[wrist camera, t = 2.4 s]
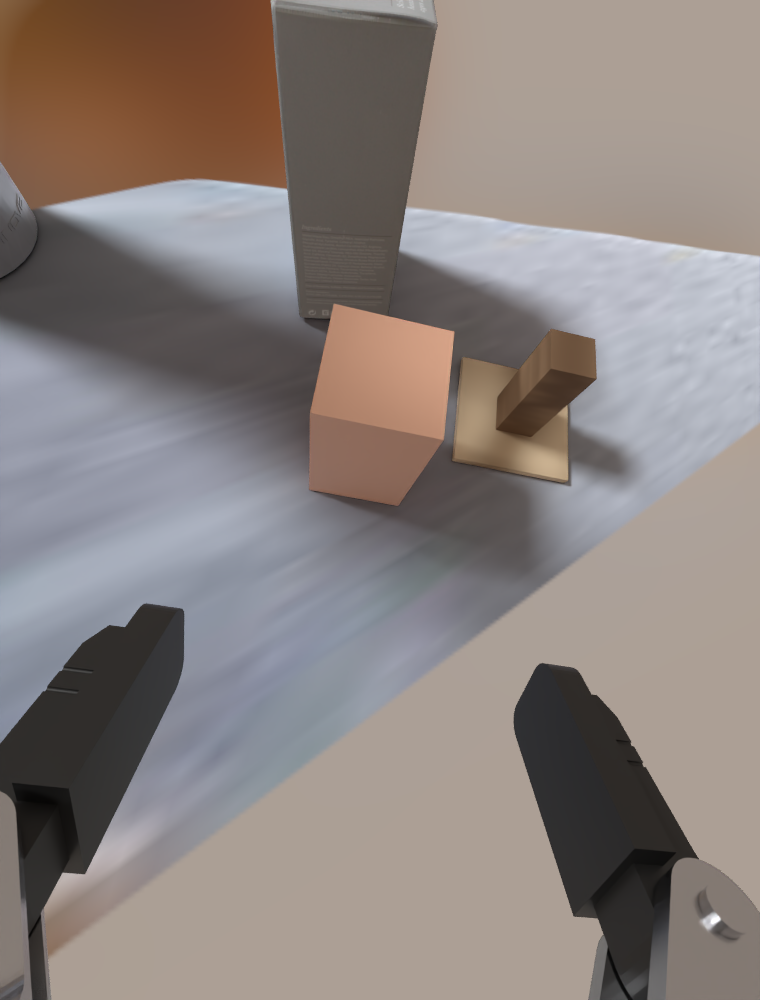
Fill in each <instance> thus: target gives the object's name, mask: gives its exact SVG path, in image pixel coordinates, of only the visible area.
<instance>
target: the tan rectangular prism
mask: <svg viewBox="0 0 760 1000" xmlns="http://www.w3.org/2000/svg"><path fill="white" fill-rule="evenodd" d="M453 340H454V331H449V330H445V329H441V328H436V327H432V326H428V325H424V324H419V323H415V322H411V321H406V320H402V319H398V318H393V317H389V316H385V315H381V314H376V313H372V312H368V311H363V310H359V309H355V308H350V307H346V306H342V305H338V304H334V305H333V310H332V314H331V319H330V324H329V328H328V333H327V337H326V342H325V346H324V351H323V356H322V360H321V365H320V369H319V374H318V378H317V383H316V388H315V392H314V397H313V401H312V406H311V410H310V460H309V490H313V491H319V492H324V493H329V494H335V495H340V496H346V497H351V498H357V499H362V500H368V501H373V502H379V503H384V504H389V505H395V506H399V504H400V503H401V501H402V500H403V498H404V497H405V495H406V494H407V492H408V491H409V490H410V488H411V487H412V485H413V484H414V482H415V481H416V479H417V478H418V477H419V475H420V474H421V472H422V471H423V469H424V468H425V466H426V465H427V464H428V462H429V461H430V459H431V458H432V456H433V455H434V453H435V452H436V451H437V449H438V448H439V446H440V445H441V443H442V442H443V440H444V432H445V422H446V412H447V402H448V391H449V381H450V371H451V361H452V351H453Z"/></svg>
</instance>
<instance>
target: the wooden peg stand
mask: <svg viewBox="0 0 760 1000" xmlns="http://www.w3.org/2000/svg"><path fill="white" fill-rule="evenodd" d="M595 380H596V351H595V339H592V338H588V337H583V336H579V335H575V334H571V333H567V332H563V331H558V330H554V329H551V330H550V331H549V332H548V333H547V335H546V336H545V337H544V338H543V340H542V341H541V342H540V344H539V345H538V346H537V347H536V349H535V350H534V351H533V352H532V354H531V355H530V356H529V357H528V359H527V360H526V361H525V363H524V364H523V365H522V366H521V368H520V369H515V368H511V367H506V366H502V365H497V364H493V363H488V362H484V361H480V360H475V359H471V358H466V357H463V358H462V360H461V365H460V376H459V388H458V399H457V410H456V421H455V432H454V444H453V455H452V461H455V462H460V463H465V464H470V465H475V466H480V467H485V468H490V469H495V470H501V471H506V472H511V473H516V474H521V475H526V476H531V477H536V478H541V479H546V480H551V481H556V482H561V483H565V482H567V481H568V404H569V403H570V402H571V401H572V400H574V399H575V398H576V397H577V396H578V395H579V394H580V393H581V392H582V391H584V390H585V389H586V388H587V387H588V386H589V385H590V384H591V383H593V382H594V381H595Z"/></svg>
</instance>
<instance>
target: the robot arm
mask: <svg viewBox="0 0 760 1000" xmlns="http://www.w3.org/2000/svg"><path fill="white" fill-rule="evenodd" d="M37 230H38V226H37V223H36V219H35V216H34V214H33V212H32V211H31V209H30V207H29V206H28V204H27V203H26V201H25V199H24V198H23V196H22V195H21V193H20V192H19V190H18V189H17V187H16V185H15V184H14V182H13V181H12V179H11V178H10V176H9V175H8V173H7V172H6V170H5V168H4V167H3V165H2V164H1V162H0V278H1V277H3V276H5V275H7V274H8V273H10V272H12V271H13V270H15V269H16V268H17V267H18V266H19V265H20V264H21V263H23V262H24V261H25V260H26V258H27V257H28V255H29V254H30V253H31V251H32V250H33V248H34V245H35V242H36V240H37ZM183 661H184V611H183V609H180V608H174V607H167V606H160V605H153V604H143V605H142V606H141V607H140V608H139V609H138V610H137V612H136V613H135V615H134V616H133V617H132V619H131V620H130V621H129V623H128V624H127V625H126V627H119V626H111V625H109V626H107V627H106V628H104V629H103V630H101V631H100V632H98V633H97V634H95V635H94V636H92V637H91V638H89V639H88V640H86V641H85V642H83V643H82V644H81V646H80V647H79V648H78V649H77V651H76V652H75V653H74V654H73V655H72V657H71V658H70V659H69V660H68V662H67V663H66V664H65V665H64V668H63V670H62V671H59V673H58V674H57V675H56V676H55V677H54V679H53V680H52V681H51V682H50V684H49V685H48V686H47V690H46V691H43V692H42V693H41V695H40V696H39V697H38V698H37V699H36V701H35V702H34V703H33V704H32V706H31V707H30V708H29V709H28V710H27V712H26V713H25V714H24V715H23V717H22V718H21V719H20V720H19V721H18V723H17V724H16V725H15V726H14V728H13V729H12V730H11V731H10V732H9V734H8V735H7V736H6V737H5V739H4V740H3V741H2V742H1V743H0V1000H51V990H50V977H49V966H48V954H47V942H46V930H45V918H44V906H45V904H46V903H47V901H48V899H49V897H50V895H51V893H52V891H53V889H54V887H55V886H56V884H57V882H58V880H59V878H60V876H61V874H62V872H64V873H76V874H85V873H86V871H87V869H88V867H89V865H90V863H91V861H92V859H93V857H94V855H95V853H96V851H97V849H98V847H99V845H100V843H101V841H102V839H103V837H104V834H105V832H106V830H107V828H108V826H109V824H110V822H111V820H112V818H113V816H114V814H115V812H116V810H117V808H118V806H119V804H120V802H121V800H122V798H123V796H124V794H125V792H126V790H127V788H128V786H129V784H130V782H131V779H132V777H133V775H134V773H135V771H136V769H137V767H138V765H139V763H140V761H141V759H142V757H143V755H144V753H145V751H146V749H147V747H148V745H149V743H150V741H151V739H152V737H153V735H154V733H155V731H156V729H157V727H158V724H159V722H160V720H161V718H162V716H163V714H164V712H165V710H166V708H167V706H168V704H169V702H170V700H171V698H172V696H173V694H174V692H175V690H176V687H177V685H178V682H179V679H180V676H181V672H182V668H183ZM514 730H515V735H516V738H517V741H518V744H519V747H520V751H521V754H522V757H523V760H524V763H525V766H526V769H527V772H528V776H529V779H530V782H531V785H532V788H533V791H534V794H535V798H536V801H537V804H538V807H539V810H540V813H541V816H542V819H543V822H544V826H545V828H546V832H547V835H548V838H549V841H550V844H551V847H552V850H553V853H554V857H555V859H556V863H557V866H558V869H559V872H560V875H561V878H562V882H563V885H564V888H565V891H566V894H567V897H568V900H569V903H570V906H571V909H572V913H573V916H575V917H588V918H598V920H599V923H600V925H601V928H602V931H603V934H604V935H603V936H602V937H601V939H600V940H599V943H598V947H597V952H596V958H595V964H594V970H593V975H592V981H591V988H590V994H589V999H588V1000H760V913H759V911H758V910H757V908H756V907H755V905H754V904H753V903H752V901H751V900H750V899H749V898H748V897H747V895H746V894H745V893H744V892H743V891H742V890H741V889H740V888H739V887H738V886H737V885H736V884H735V883H734V882H733V881H732V880H731V879H730V878H729V877H728V876H726V875H725V874H724V873H722V872H721V871H720V870H718V869H717V868H715V867H713V866H712V865H710V864H708V863H706V862H704V861H701V860H699V858H698V857H697V855H696V854H695V852H694V851H693V849H692V847H691V846H690V844H689V842H688V840H687V838H686V837H685V835H684V833H683V831H682V830H681V828H680V826H679V824H678V823H677V821H676V819H675V817H674V816H673V814H672V812H671V810H670V809H669V807H668V805H667V804H666V802H665V800H664V798H663V796H662V795H661V793H660V792H659V790H658V788H657V786H656V784H655V783H654V781H653V779H652V777H651V775H650V774H649V772H648V770H647V769H646V767H643V765H642V763H643V762H642V760H641V758H640V756H639V755H638V753H637V751H636V749H635V748H634V747H633V746H631V741H630V739H629V737H628V735H627V734H626V732H625V730H624V728H623V727H622V725H621V723H620V721H619V720H618V718H617V717H616V716H615V714H614V713H613V712H612V711H611V710H610V709H609V708H608V707H607V706H606V705H605V704H604V703H603V701H602V700H601V699H600V698H599V697H598V696H597V695H591V693H590V691H589V689H588V687H587V686H586V684H585V682H584V680H583V678H582V676H581V675H580V673H579V672H578V671H577V670H576V669H574V668H571V667H565V666H558V665H551V664H544V663H542V664H539V665H538V666H537V667H536V669H535V670H534V672H533V674H532V676H531V678H530V680H529V682H528V684H527V686H526V688H525V690H524V692H523V694H522V695H521V697H520V699H519V701H518V703H517V705H516V708H515V712H514Z"/></svg>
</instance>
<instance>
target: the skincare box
mask: <svg viewBox="0 0 760 1000" xmlns="http://www.w3.org/2000/svg"><path fill="white" fill-rule="evenodd" d="M271 9H272V19H273V33H274V47H275V57H276V70H277V80H278V92H279V102H280V114H281V125H282V135H283V147H284V158H285V168H286V178H287V190H288V200H289V211H290V222H291V232H292V243H293V253H294V263H295V273H296V283H297V294H298V305H299V314H300V317H305V318H321V319H331V314H332V310H333V305H334V304H338V305H342V306H346V307H350V308H355V309H359V310H363V311H368V312H372V313H376V314H381V315H385V316H388V312H389V305H390V299H391V293H392V287H393V281H394V275H395V269H396V263H397V257H398V251H399V246H400V239H401V233H402V227H403V221H404V215H405V209H406V203H407V197H408V191H409V185H410V179H411V173H412V168H413V162H414V156H415V150H416V144H417V138H418V132H419V126H420V120H421V115H422V109H423V103H424V97H425V91H426V85H427V79H428V73H429V67H430V61H431V56H432V50H433V45H434V40H435V34H436V30H437V19H436V14H435V6H434V0H271Z"/></svg>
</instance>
